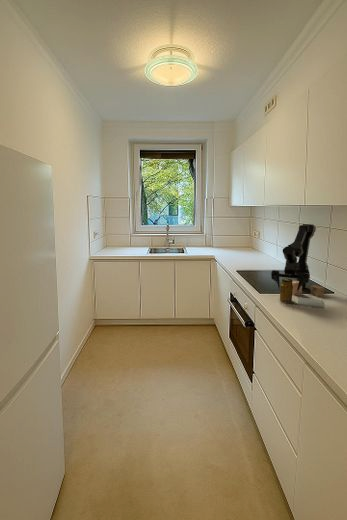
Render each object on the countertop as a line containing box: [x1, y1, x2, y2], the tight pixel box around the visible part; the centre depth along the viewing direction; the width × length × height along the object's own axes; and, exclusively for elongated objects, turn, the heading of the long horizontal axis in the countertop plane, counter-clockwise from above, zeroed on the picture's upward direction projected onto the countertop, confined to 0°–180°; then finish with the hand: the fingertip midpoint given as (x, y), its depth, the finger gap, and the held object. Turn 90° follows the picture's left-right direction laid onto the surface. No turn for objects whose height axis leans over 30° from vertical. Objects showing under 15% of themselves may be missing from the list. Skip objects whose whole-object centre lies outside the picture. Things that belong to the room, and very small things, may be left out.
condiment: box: [278, 278, 298, 305], centre depth 163 cm, size 7×8×12 cm
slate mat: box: [297, 296, 324, 309], centre depth 161 cm, size 12×12×1 cm
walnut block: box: [309, 284, 325, 298], centre depth 175 cm, size 5×5×5 cm
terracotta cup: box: [292, 280, 303, 296], centre depth 178 cm, size 6×6×7 cm
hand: (288, 289), depth 161 cm, fingers open, 9 cm apart
